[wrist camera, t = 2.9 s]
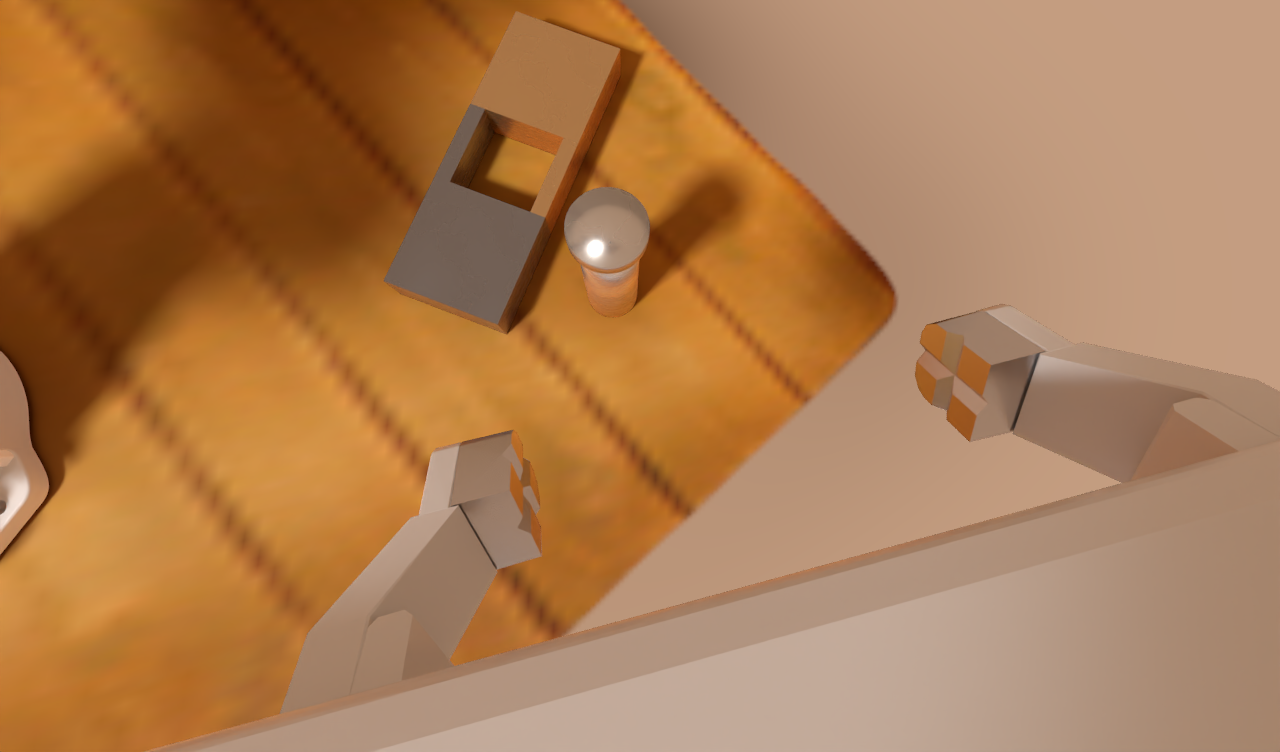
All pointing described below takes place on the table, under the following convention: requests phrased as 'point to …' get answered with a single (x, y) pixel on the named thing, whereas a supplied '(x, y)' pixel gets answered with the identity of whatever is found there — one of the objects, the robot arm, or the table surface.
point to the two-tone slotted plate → (486, 227)
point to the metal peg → (608, 246)
